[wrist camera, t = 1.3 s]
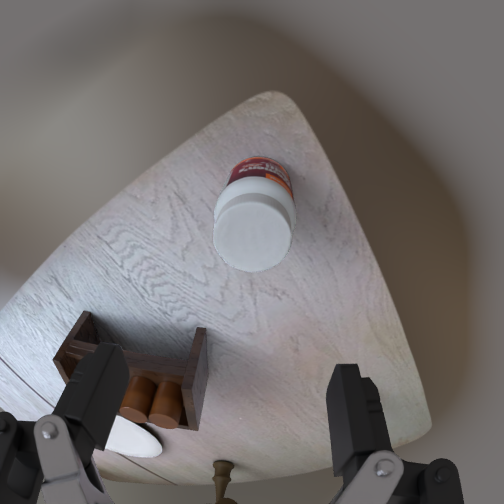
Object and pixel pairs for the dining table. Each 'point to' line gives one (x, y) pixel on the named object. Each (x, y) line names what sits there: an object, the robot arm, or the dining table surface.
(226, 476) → the kendama
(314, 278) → the dining table surface
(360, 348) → the dining table surface
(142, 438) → the plate
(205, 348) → the spice rack
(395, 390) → the dining table surface
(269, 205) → the pill bottle
